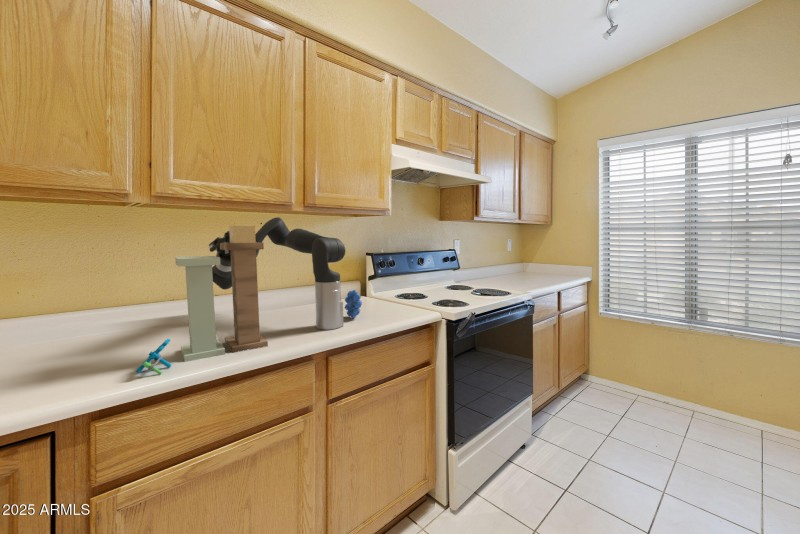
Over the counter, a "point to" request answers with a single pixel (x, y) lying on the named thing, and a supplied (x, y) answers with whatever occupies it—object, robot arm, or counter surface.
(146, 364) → the tinkertoy rod frame
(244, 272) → the tall stand
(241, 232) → the tan wooden block
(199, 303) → the short stand
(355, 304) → the grapes
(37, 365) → the counter surface
